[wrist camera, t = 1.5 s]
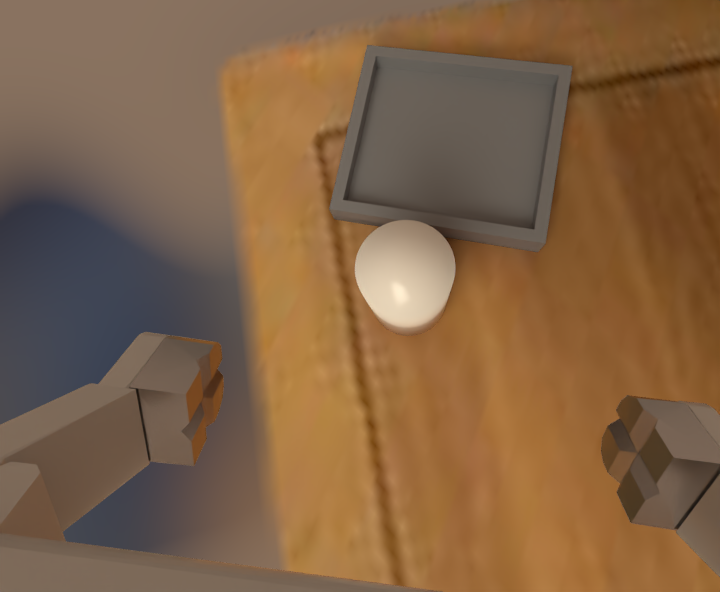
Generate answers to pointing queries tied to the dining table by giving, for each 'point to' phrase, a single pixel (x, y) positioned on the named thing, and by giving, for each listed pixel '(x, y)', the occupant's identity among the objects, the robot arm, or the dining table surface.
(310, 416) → the dining table surface
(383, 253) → the cream capsule shape
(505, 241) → the serving tray
